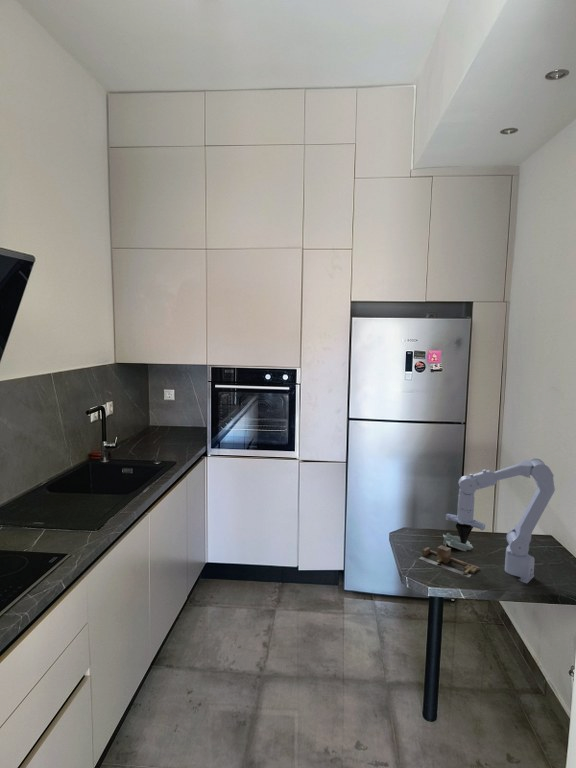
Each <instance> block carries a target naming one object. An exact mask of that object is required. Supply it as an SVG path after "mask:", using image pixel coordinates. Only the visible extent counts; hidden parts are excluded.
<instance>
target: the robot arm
mask: <svg viewBox="0 0 576 768" xmlns="http://www.w3.org/2000/svg"><path fill="white" fill-rule="evenodd" d="M486 469H487V468H486ZM486 469H485V468H484V469H482V471H479V472H477V473H474V474H473V473H469V475H463V476H461V477H460V478H459V479H458V482H457V483H458V484H457V485H458V486H459V489H458V497H457V499H458V500H457V515H456V514H451V513H446V514H445V521H453V522H455V523H456V524H455V528H456V530H457V532H458V535H459V536H458V537H460V540H461V543H463V544H465V543H467V541H468V539H469V536H470V533H471V532H472V530H473V529H474V528H475V529H478V530H480V531H484V530H485V529H486V523H482V522H480V521H478V520H476V519H474V511H475V493H476V491H478V490H482V489H485V488H488V487H493V486H495V485H496V484H497V482H498V481H500V480H501V481H502V480H506V479H509V478H513V477H518V476H522V477H524V478H528V479H530V478H531V476H532V479H534V482H535V484H536V486H537V489H535V492H534V494H533V495H532V497H531V499H530V502H529V504H528V505H527V507H526V509H525V510H524V512H523V514H522V516H521V518H520V520H519V522H518V523H517V524H516V525H514V527H513V528H512V530H510V531H508V532H507V534H506V536H505V539H506V542H507V543H508V545H507V546H506V547H505V548H506V549H505V560H504V571H505V573H507V574H509V575H511V576H515V577H519V578H518V580H517V581H518V582H521V583H523V584H528V583H529V582H530V581H531V580H533V578H534V577H535V575H534V572H535V570H534V569H535V557H534V556H532V555H530V554H529V551H530V543H531V541H532V534H533V532H534V530H535V527H536V526H537V524H538V522H539V520H540V519H541V517H542V515H543V514H544V511H545V510H546V508H547V506H548V504H549V502H550V501H551V499H552V498H553V497H552V496H553V495H554V494H555V490H556V488H555V481H554V476H555V475H554V474H553V472H552V470H551V468H550V467H549V466H548V465H546V464H545V462H544V461H543V460H542V459H540V458H533V459H532V458H531V459H530V460H529V459H528V460H523V461H521V462H519V463H516V464H513V465H510V466H507V467H504V468H501V469H498V470H496V471H493V470H490V469H487V470H486Z"/></svg>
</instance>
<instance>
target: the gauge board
mask: <svg viewBox="0 0 576 768" xmlns="http://www.w3.org/2000/svg"><path fill="white" fill-rule="evenodd" d="M421 553H422V554H421V555H422V556H420V557H419V558H418V560H421V561H423V562H426V563H429V564H431V565H433V566H436V567H440V568H442V569H444V570H448V571H449V572H453V573H455V574H458V575H461V576H463V577H465V578H470V577H471V576H473V574H474V573H476V572H477V571H479V570H480V566H477V565H474V564H471V563H468V562H465V561H462V560H461V559H460V560H459V559H456V558H454V557H451V556H450V561H451V562H454V563H457V564H459V565H463V566H464V568H463V571H461V570H458V569H456V568H453V567H451V566H448V565H445V564H443V563H441V562H439V563H438V562H437V561H434V560H432V559H429V558H426V556H429V554H432V555H435V556H437V551H434V550H431V547H429V546H428V547H425V548H423V549H422V552H421ZM470 573H471V574H470Z"/></svg>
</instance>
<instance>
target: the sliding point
mask: <svg viewBox="0 0 576 768" xmlns="http://www.w3.org/2000/svg"><path fill="white" fill-rule="evenodd" d="M436 552H437V555H436V562H438V563H445V564H448V563H449V562H450V561H451V560H450V557H451V555H452V547H448V546H445V545H443V544H441V545H439V546H437V551H436Z"/></svg>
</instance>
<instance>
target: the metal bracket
mask: <svg viewBox="0 0 576 768" xmlns="http://www.w3.org/2000/svg"><path fill="white" fill-rule="evenodd" d="M442 536H443V543H442V545H443V546H445V547H447V545H448V546H449V547H450V548H455V549H457V550H460V551H462V552H467V551H471V550H472V549H473V548H474V546H473V545H472V543H471V542H470V541H469V540H467V543H465V544H463V543H461V540H460V536H458V535H452V534H451V533H450V532H447V533H446V534H442ZM470 543H471V544H470Z"/></svg>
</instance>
